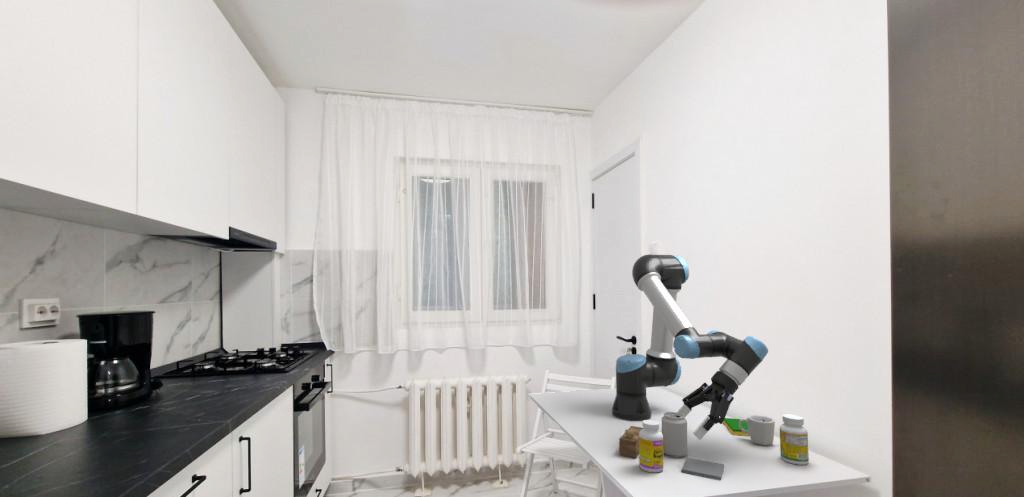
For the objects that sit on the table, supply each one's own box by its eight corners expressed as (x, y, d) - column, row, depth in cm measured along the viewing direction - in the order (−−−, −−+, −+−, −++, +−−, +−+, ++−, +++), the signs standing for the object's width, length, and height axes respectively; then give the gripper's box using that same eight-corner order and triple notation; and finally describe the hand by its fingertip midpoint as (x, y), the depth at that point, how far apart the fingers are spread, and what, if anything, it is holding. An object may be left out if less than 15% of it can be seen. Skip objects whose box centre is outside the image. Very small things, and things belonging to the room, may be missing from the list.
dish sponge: (733, 436, 154) (732, 429, 154) (723, 424, 167) (723, 417, 167) (755, 438, 152) (755, 431, 152) (743, 425, 166) (743, 419, 166)
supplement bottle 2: (807, 467, 127) (805, 421, 128) (778, 461, 131) (776, 416, 132) (810, 460, 132) (808, 416, 133) (783, 454, 137) (781, 411, 138)
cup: (736, 441, 148) (735, 416, 149) (743, 435, 154) (742, 411, 154) (772, 449, 141) (771, 423, 141) (778, 443, 146) (777, 418, 147)
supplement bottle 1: (654, 475, 121) (653, 427, 122) (634, 467, 126) (633, 421, 127) (668, 469, 125) (667, 423, 126) (649, 461, 130) (648, 417, 131)
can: (690, 459, 132) (689, 418, 133) (663, 457, 133) (663, 416, 134) (685, 450, 139) (684, 411, 140) (660, 448, 141) (659, 410, 142)
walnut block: (631, 441, 147) (631, 419, 148) (646, 444, 145) (646, 422, 145) (619, 455, 135) (619, 431, 135) (635, 458, 132) (635, 434, 133)
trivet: (687, 459, 132) (687, 457, 132) (724, 466, 127) (723, 463, 127) (681, 472, 123) (681, 469, 123) (721, 480, 118) (721, 477, 118)
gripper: (763, 396, 126) (716, 452, 124) (714, 378, 151) (674, 424, 148) (745, 378, 126) (697, 434, 124) (699, 363, 151) (658, 409, 148)
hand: (684, 429), depth 136 cm, fingers open, 13 cm apart
